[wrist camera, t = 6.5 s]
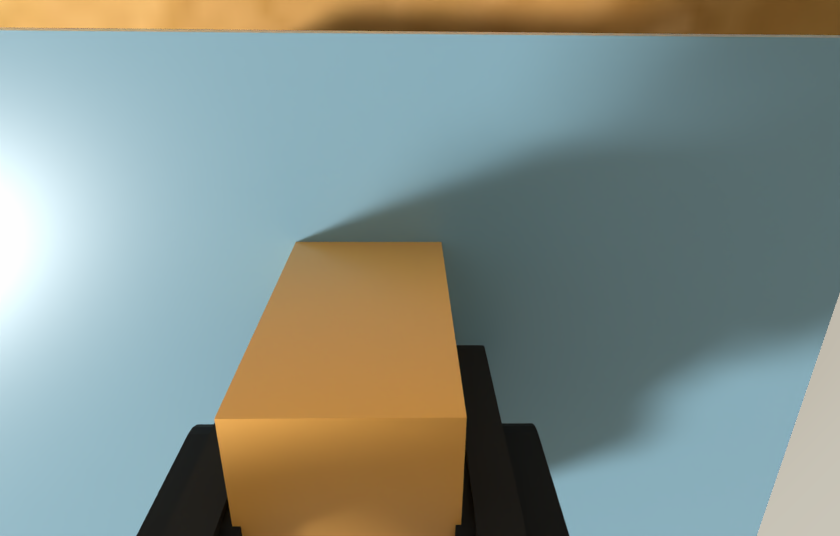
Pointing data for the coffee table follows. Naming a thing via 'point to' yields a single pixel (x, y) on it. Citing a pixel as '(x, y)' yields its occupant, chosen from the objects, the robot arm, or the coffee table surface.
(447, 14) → the coffee table surface
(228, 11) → the coffee table surface
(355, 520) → the tub lid
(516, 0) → the coffee table surface
